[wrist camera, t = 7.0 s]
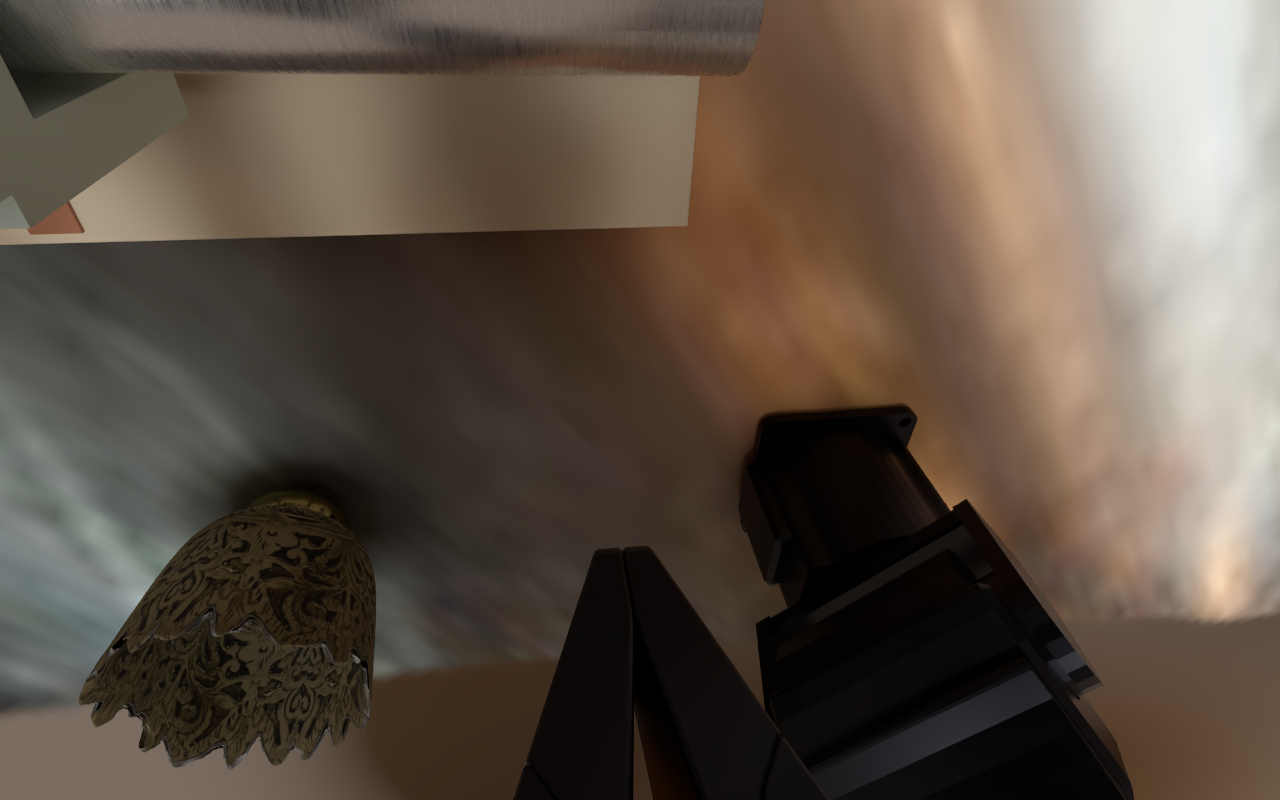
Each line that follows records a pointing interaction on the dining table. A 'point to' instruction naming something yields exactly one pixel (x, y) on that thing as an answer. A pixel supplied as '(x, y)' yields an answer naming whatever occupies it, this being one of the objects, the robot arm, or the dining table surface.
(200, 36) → the steel pipe
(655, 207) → the base board
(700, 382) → the dining table surface
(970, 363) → the dining table surface
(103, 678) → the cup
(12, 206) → the sleeve
